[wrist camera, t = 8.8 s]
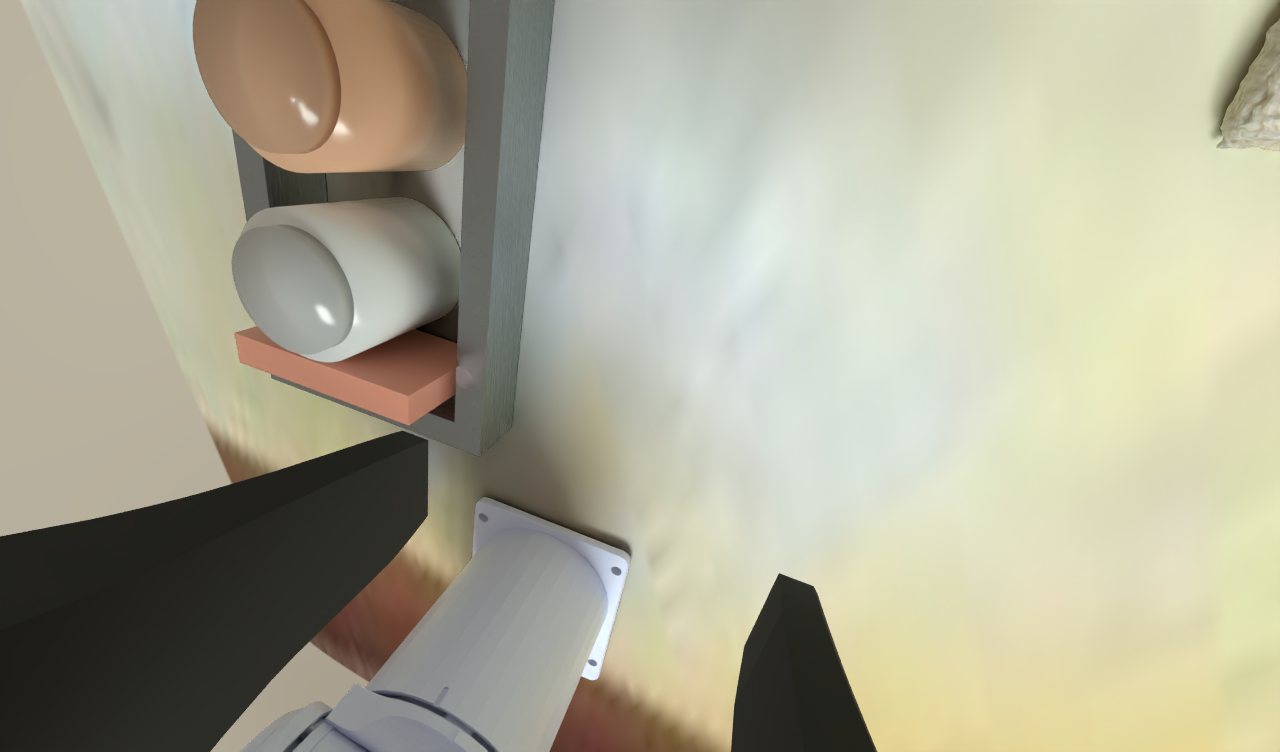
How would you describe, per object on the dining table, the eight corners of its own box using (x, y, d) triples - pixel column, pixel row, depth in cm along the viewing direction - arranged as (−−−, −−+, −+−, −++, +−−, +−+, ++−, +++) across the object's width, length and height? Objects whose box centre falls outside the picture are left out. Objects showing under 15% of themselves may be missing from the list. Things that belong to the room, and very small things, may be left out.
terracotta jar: (473, 179, 18) (350, 186, 13) (360, 160, 19) (206, 159, 14) (470, 14, 16) (321, -53, 11) (342, 2, 17) (153, -64, 12)
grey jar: (462, 334, 21) (357, 388, 16) (363, 302, 22) (234, 343, 17) (467, 214, 18) (346, 233, 14) (356, 183, 19) (205, 190, 14)
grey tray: (511, 427, 22) (479, 456, 20) (320, 358, 24) (271, 378, 21) (558, -43, 14) (515, -81, 12) (273, -93, 16) (190, -133, 14)
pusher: (479, 394, 21) (409, 445, 17) (338, 344, 22) (243, 382, 19) (482, 351, 20) (408, 396, 16) (335, 302, 22) (234, 332, 18)
